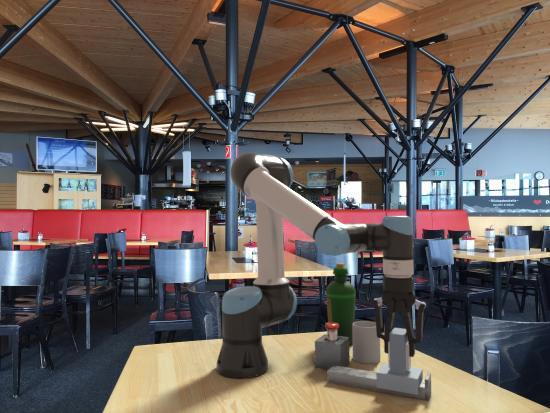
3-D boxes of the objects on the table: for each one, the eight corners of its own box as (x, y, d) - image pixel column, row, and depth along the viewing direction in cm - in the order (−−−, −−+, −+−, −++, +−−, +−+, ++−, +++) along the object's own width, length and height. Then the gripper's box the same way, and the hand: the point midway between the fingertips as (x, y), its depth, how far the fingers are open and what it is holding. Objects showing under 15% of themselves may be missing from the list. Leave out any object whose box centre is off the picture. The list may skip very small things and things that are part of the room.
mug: (380, 364, 129) (380, 328, 129) (352, 363, 131) (351, 326, 131) (379, 352, 141) (379, 318, 141) (353, 350, 143) (352, 317, 143)
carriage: (376, 387, 108) (375, 332, 109) (384, 377, 115) (383, 325, 116) (417, 395, 104) (416, 337, 104) (422, 383, 111) (422, 329, 111)
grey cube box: (315, 368, 127) (314, 340, 127) (324, 359, 134) (324, 334, 134) (341, 372, 123) (340, 344, 123) (349, 363, 130) (349, 337, 130)
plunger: (323, 355, 128) (323, 324, 128) (328, 351, 131) (328, 321, 131) (336, 357, 126) (336, 326, 126) (341, 353, 129) (340, 323, 130)
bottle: (340, 337, 159) (339, 261, 159) (363, 343, 150) (362, 263, 151) (319, 342, 152) (318, 263, 152) (342, 349, 144) (341, 266, 144)
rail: (327, 382, 116) (327, 363, 116) (333, 376, 120) (333, 358, 121) (428, 400, 104) (428, 379, 104) (431, 392, 108) (430, 373, 109)
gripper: (362, 275, 111) (363, 367, 110) (430, 279, 103) (432, 378, 103) (369, 272, 117) (371, 358, 117) (434, 275, 110) (436, 367, 109)
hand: (399, 367), depth 110 cm, fingers closed on carriage, 4 cm apart
